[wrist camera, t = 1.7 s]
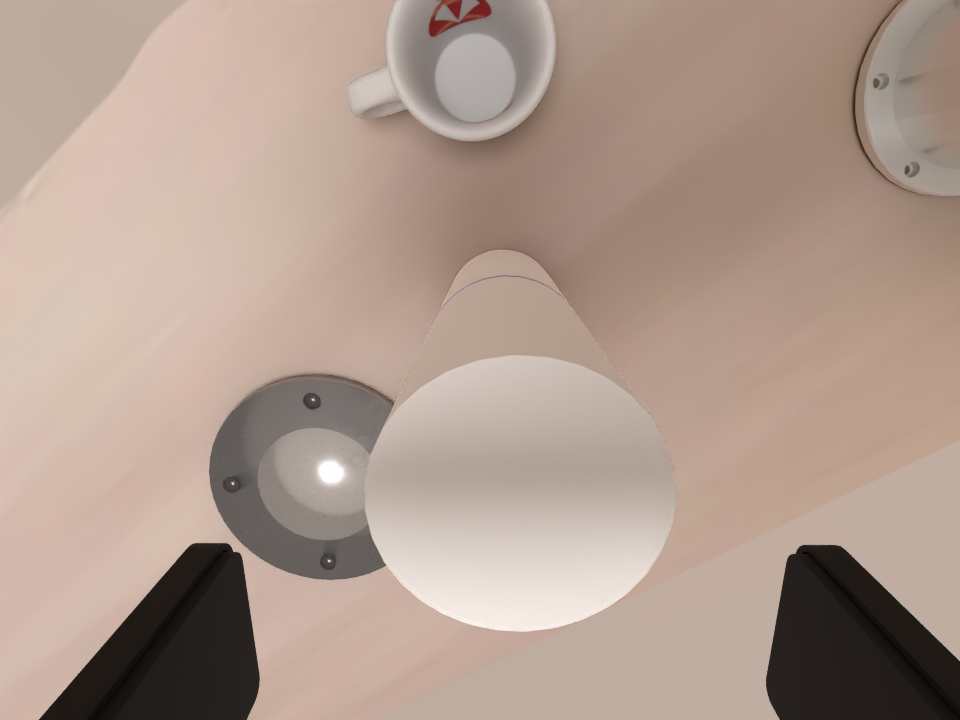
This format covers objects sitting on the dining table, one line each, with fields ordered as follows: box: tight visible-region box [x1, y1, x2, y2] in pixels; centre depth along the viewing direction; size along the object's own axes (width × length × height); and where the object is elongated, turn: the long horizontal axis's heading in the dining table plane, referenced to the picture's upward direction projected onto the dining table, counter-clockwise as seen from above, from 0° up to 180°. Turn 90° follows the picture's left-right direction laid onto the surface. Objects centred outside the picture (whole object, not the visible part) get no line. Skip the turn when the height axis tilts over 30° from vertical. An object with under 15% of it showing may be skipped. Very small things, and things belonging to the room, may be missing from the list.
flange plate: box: [209, 375, 394, 580], centre depth 40 cm, size 16×16×1 cm
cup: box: [346, 0, 556, 141], centre depth 29 cm, size 11×8×8 cm
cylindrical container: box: [365, 249, 676, 632], centre depth 25 cm, size 7×7×25 cm
